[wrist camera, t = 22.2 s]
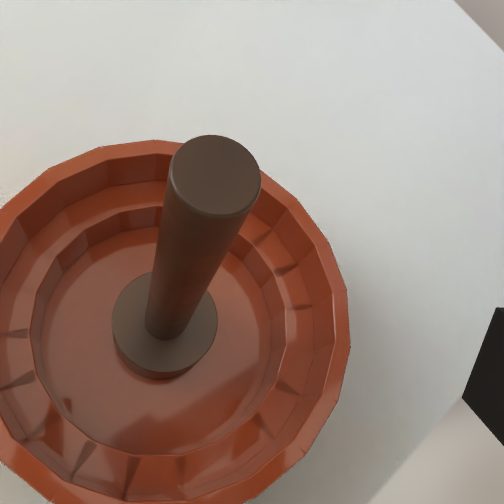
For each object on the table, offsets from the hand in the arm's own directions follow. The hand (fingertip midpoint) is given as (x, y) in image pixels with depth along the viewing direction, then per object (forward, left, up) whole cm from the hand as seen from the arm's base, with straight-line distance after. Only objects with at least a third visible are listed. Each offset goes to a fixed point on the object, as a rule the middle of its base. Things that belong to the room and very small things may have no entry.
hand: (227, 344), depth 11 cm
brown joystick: (+2, -3, -15) cm, 16 cm away
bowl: (+2, -3, -16) cm, 16 cm away
